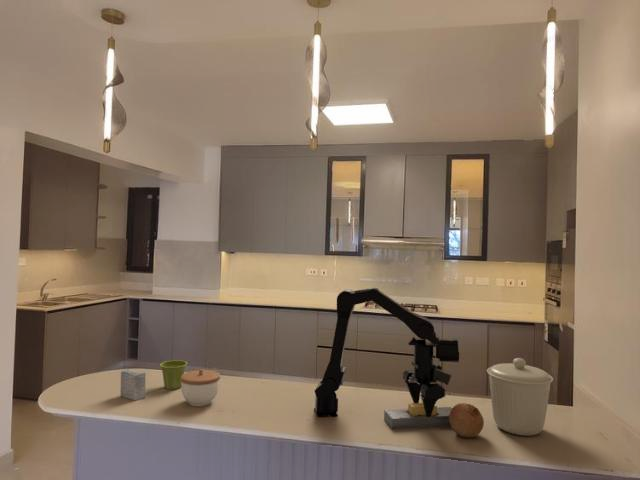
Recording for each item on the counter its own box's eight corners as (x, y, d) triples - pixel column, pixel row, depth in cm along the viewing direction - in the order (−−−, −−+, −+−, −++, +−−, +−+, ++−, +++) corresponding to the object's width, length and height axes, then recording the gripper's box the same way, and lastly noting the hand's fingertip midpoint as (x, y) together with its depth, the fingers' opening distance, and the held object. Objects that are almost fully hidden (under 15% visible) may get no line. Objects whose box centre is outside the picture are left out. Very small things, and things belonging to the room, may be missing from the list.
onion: (478, 449, 125) (494, 423, 122) (448, 440, 125) (462, 414, 121) (469, 424, 134) (483, 399, 131) (440, 416, 133) (454, 390, 130)
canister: (561, 445, 122) (563, 368, 123) (492, 438, 126) (494, 364, 126) (540, 419, 140) (542, 353, 140) (480, 414, 143) (482, 349, 144)
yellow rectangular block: (411, 424, 134) (412, 407, 134) (407, 420, 137) (408, 403, 137) (436, 423, 135) (436, 405, 135) (432, 419, 138) (432, 402, 138)
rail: (391, 429, 131) (391, 418, 131) (384, 419, 137) (384, 409, 137) (461, 425, 134) (461, 415, 134) (450, 416, 141) (450, 406, 141)
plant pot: (179, 392, 158) (180, 367, 158) (154, 390, 159) (155, 366, 159) (190, 384, 167) (191, 361, 167) (167, 382, 168) (167, 359, 168)
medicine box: (145, 397, 152) (146, 372, 152) (134, 401, 148) (134, 375, 148) (131, 392, 156) (132, 368, 156) (119, 396, 152) (120, 371, 152)
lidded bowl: (200, 412, 140) (200, 377, 140) (172, 404, 146) (172, 370, 146) (227, 400, 151) (228, 368, 151) (200, 393, 157) (200, 362, 157)
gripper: (462, 367, 128) (461, 422, 128) (434, 351, 147) (433, 399, 147) (426, 368, 126) (425, 423, 126) (402, 352, 145) (401, 400, 145)
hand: (422, 410), depth 136 cm, fingers open, 9 cm apart
